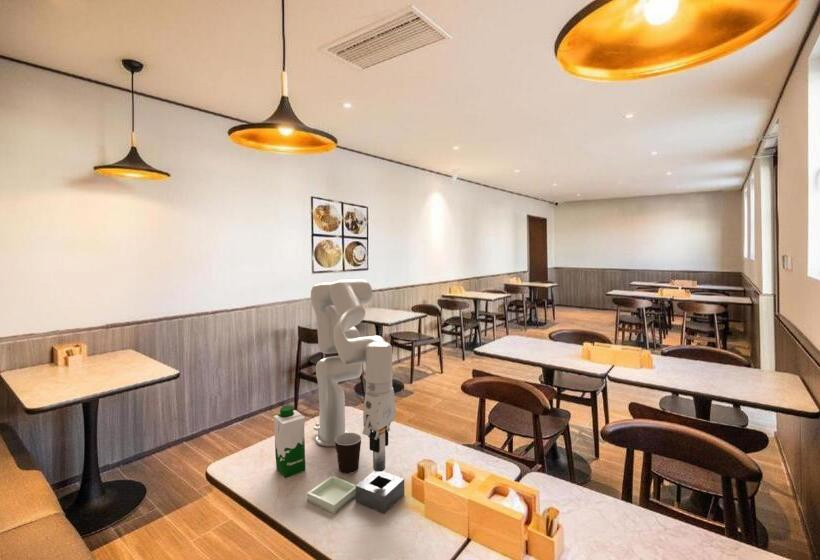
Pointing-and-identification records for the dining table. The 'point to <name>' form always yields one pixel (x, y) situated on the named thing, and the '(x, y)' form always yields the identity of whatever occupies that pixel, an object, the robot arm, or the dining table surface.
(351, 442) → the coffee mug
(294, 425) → the milk carton
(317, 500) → the tray
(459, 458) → the dining table surface
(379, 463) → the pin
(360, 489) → the grey square box
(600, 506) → the dining table surface
